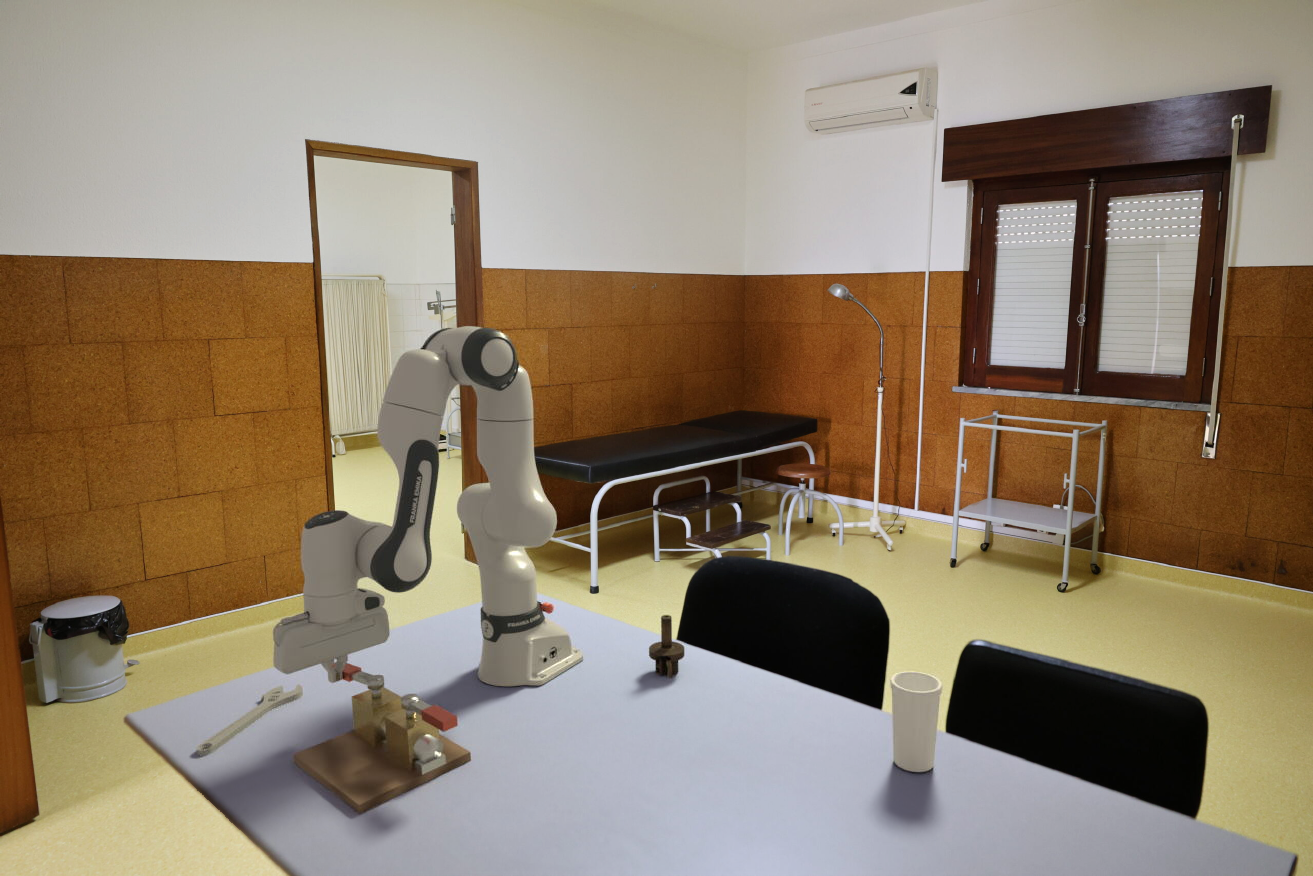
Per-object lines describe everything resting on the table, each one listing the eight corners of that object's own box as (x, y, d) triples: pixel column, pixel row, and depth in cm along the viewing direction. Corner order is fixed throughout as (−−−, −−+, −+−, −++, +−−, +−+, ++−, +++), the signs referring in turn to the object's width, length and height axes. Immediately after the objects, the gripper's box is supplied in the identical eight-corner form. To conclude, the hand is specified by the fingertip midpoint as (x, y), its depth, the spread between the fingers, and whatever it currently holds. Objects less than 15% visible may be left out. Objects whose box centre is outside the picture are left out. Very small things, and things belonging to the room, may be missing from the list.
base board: (400, 718, 158) (400, 711, 158) (470, 760, 143) (470, 752, 143) (294, 762, 143) (293, 754, 143) (360, 814, 129) (359, 805, 128)
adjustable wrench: (206, 760, 146) (205, 750, 145) (177, 754, 148) (176, 745, 148) (308, 694, 169) (307, 685, 169) (282, 690, 171) (281, 682, 171)
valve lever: (387, 685, 148) (387, 676, 148) (374, 691, 146) (373, 682, 146) (341, 668, 155) (340, 660, 155) (327, 674, 153) (327, 666, 153)
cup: (939, 755, 142) (943, 674, 140) (939, 781, 134) (942, 696, 132) (889, 747, 145) (891, 668, 142) (885, 773, 137) (888, 689, 135)
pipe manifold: (379, 719, 155) (375, 664, 153) (468, 774, 136) (465, 712, 134) (350, 731, 150) (345, 675, 149) (438, 789, 132) (434, 726, 130)
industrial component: (679, 682, 171) (678, 625, 169) (644, 678, 173) (643, 622, 171) (690, 663, 179) (690, 608, 177) (657, 659, 181) (656, 605, 180)
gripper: (281, 626, 138) (287, 706, 140) (392, 594, 154) (395, 667, 156) (263, 617, 142) (268, 695, 144) (373, 587, 158) (376, 658, 160)
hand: (335, 680), depth 150 cm, fingers closed
